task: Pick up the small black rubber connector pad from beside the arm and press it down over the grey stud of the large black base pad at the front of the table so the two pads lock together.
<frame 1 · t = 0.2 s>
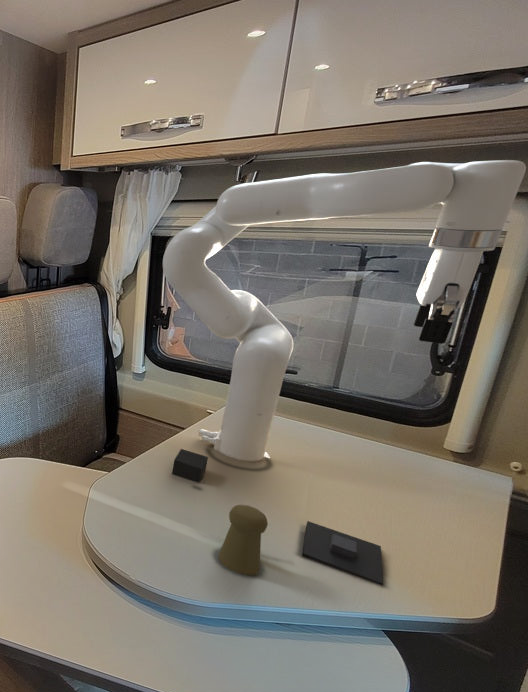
hand: (427, 334, 83), 33 cm above the table, tool pointing down, fingers open, 9 cm apart
cork: (237, 566, 77), on the table
connector pad: (188, 473, 101), on the table
base pad: (340, 553, 79), on the table
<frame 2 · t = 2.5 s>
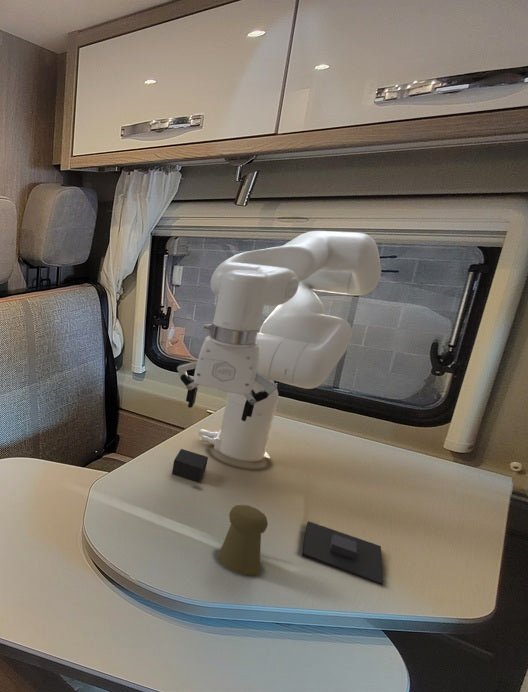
hand: (216, 411, 95), 16 cm above the table, tool pointing down, fingers open, 9 cm apart
nothing on the table moved.
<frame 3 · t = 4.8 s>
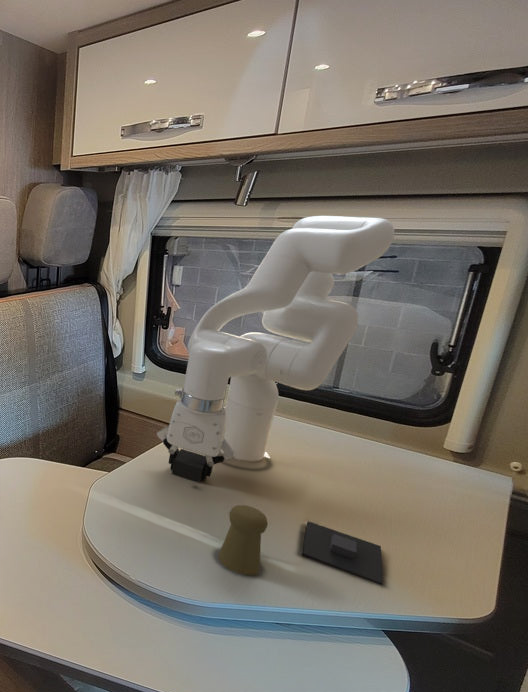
hand: (188, 471, 101), 1 cm above the table, tool pointing down, fingers closed on connector pad, 5 cm apart
connector pad: (188, 473, 101), on the table, touching gripper
everything else where it was.
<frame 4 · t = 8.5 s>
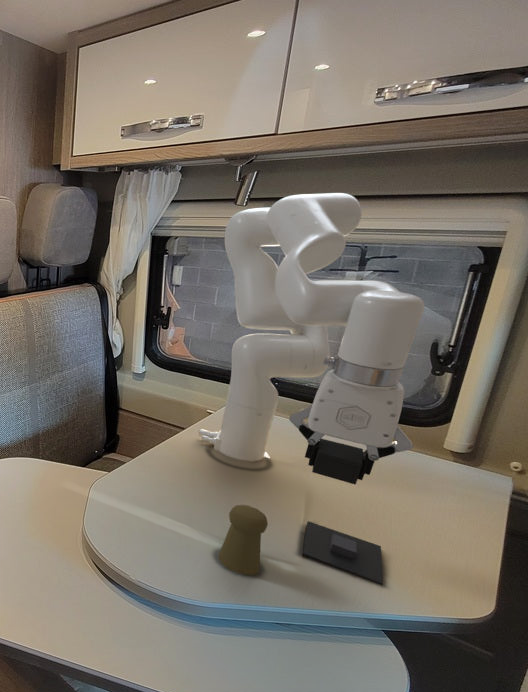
hand: (335, 467, 77), 15 cm above the table, tool pointing down, fingers closed on connector pad, 5 cm apart
connector pad: (334, 470, 77), point 15 cm above the table, touching gripper
everything else where it was.
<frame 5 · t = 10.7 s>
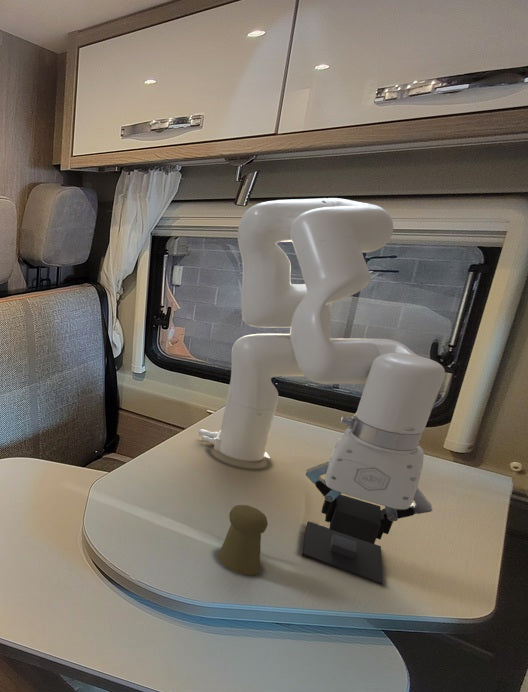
hand: (352, 524, 76), 7 cm above the table, tool pointing down, fingers closed on connector pad, 5 cm apart
connector pad: (351, 527, 76), point 6 cm above the table, touching gripper
everything else where it was.
when the fingers open (1 cm above the table, at t = 12.3 s): connector pad stays where it is, resting on base pad.
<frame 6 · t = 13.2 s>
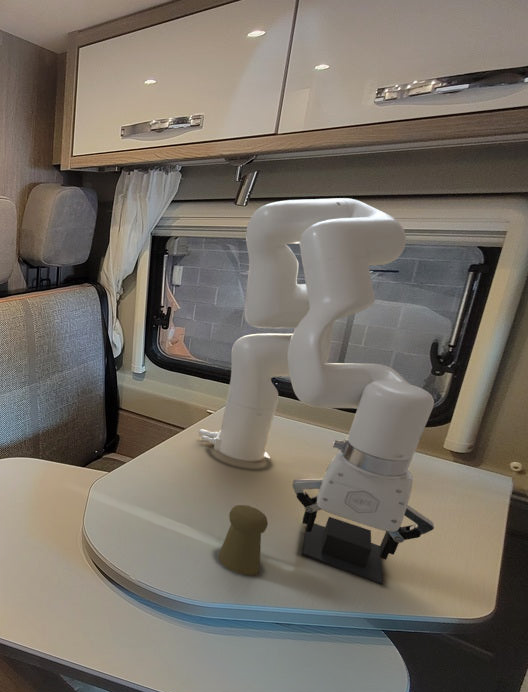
hand: (344, 540, 78), 3 cm above the table, tool pointing down, fingers open, 9 cm apart
connector pad: (342, 550, 78), point 1 cm above the table, touching base pad
everything else where it was.
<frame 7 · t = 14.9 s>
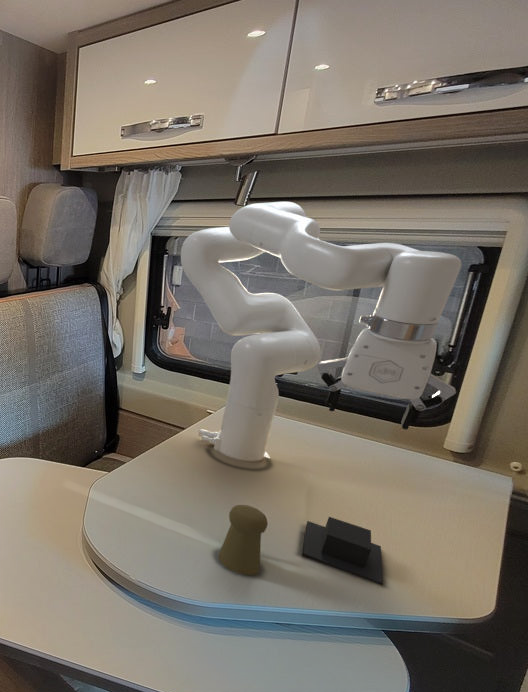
hand: (366, 416, 82), 21 cm above the table, tool pointing down, fingers open, 9 cm apart
nothing on the table moved.
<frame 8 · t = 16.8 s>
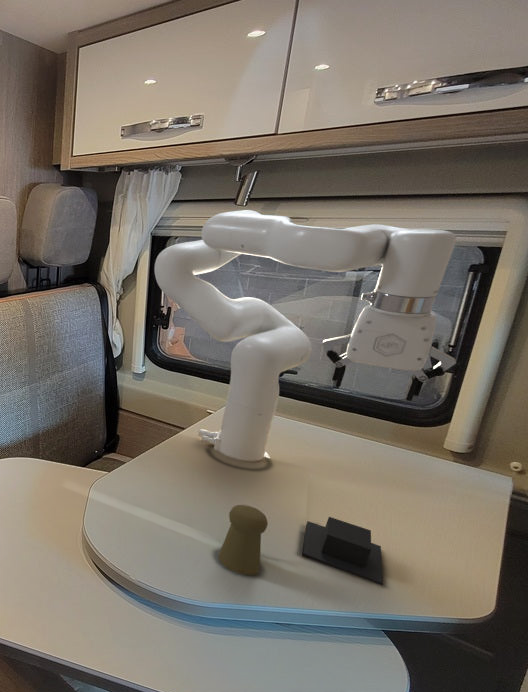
hand: (371, 391, 85), 23 cm above the table, tool pointing down, fingers open, 9 cm apart
nothing on the table moved.
at the end: connector pad 0.2 cm off-centre on the base pad, point 1.0 cm above the base pad's base; connector pad tilted 0°; the gripper is holding nothing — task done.
